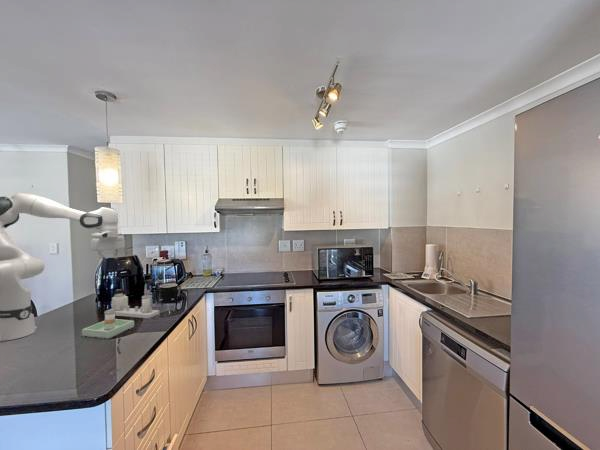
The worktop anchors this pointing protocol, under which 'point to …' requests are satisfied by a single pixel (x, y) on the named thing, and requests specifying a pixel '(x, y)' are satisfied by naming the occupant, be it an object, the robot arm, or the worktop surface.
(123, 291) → the medicine bottle
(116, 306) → the fuse left
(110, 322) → the fuse marked
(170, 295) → the mug
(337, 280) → the worktop surface
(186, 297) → the worktop surface
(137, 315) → the holder
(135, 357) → the worktop surface
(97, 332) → the tray
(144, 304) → the fuse right
